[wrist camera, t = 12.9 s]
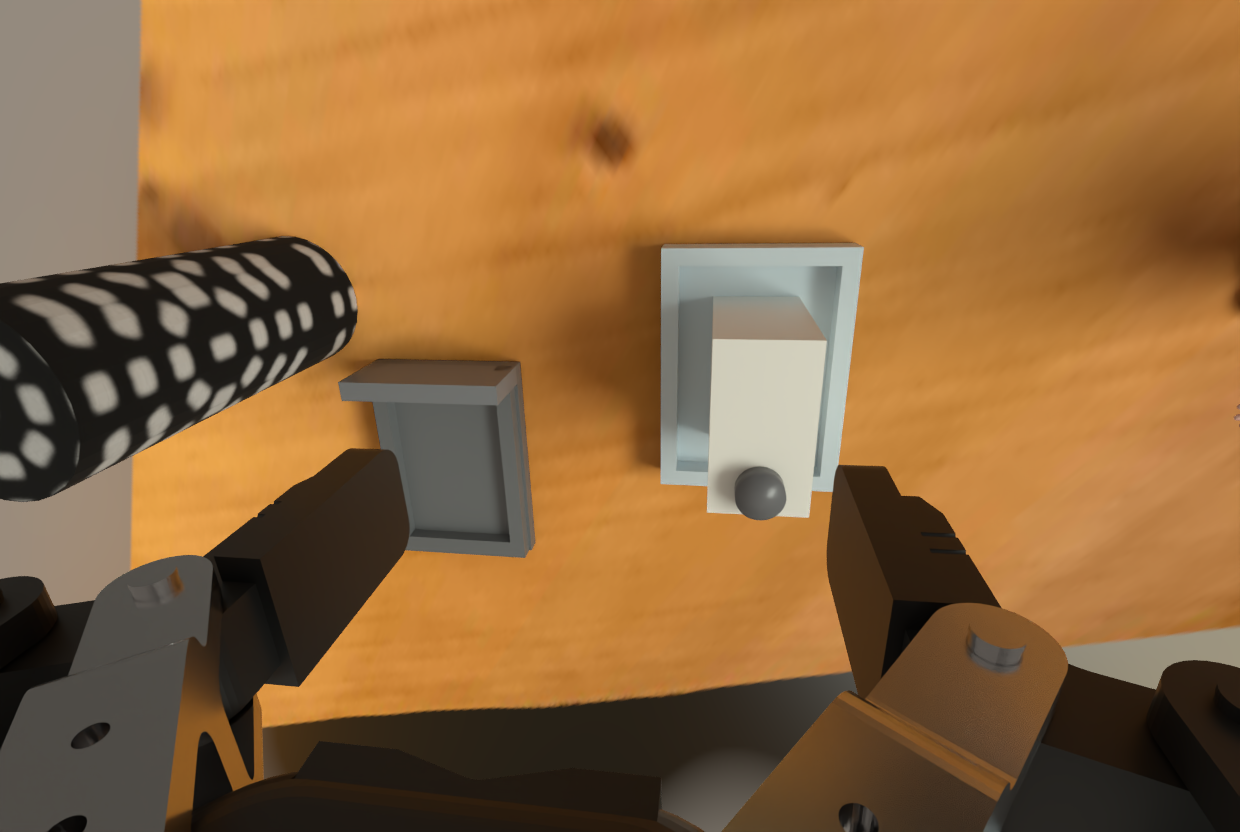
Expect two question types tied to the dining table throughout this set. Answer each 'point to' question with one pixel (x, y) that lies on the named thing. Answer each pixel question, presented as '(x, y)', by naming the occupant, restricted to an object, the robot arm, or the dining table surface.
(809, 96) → the dining table surface
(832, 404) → the tray
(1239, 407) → the santa figurine
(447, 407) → the bay
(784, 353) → the white block with knob
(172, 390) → the white-spotted black cylinder
